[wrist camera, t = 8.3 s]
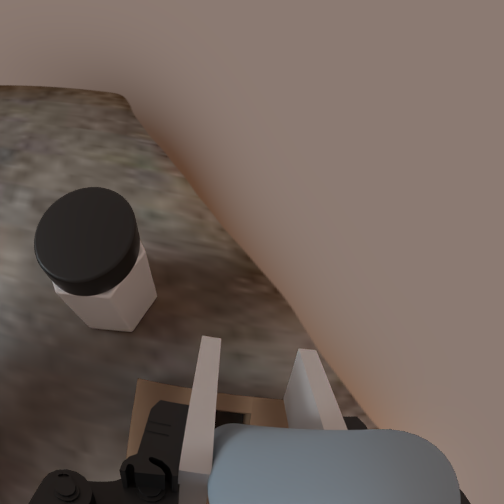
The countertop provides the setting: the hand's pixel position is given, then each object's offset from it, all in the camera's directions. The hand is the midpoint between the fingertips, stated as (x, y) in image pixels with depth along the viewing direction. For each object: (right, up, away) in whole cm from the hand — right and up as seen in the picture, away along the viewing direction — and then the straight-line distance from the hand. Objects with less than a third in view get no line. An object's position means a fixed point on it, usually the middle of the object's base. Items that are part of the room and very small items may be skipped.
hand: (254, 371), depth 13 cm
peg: (-1, -5, +2) cm, 6 cm away
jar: (-14, 0, +18) cm, 23 cm away
